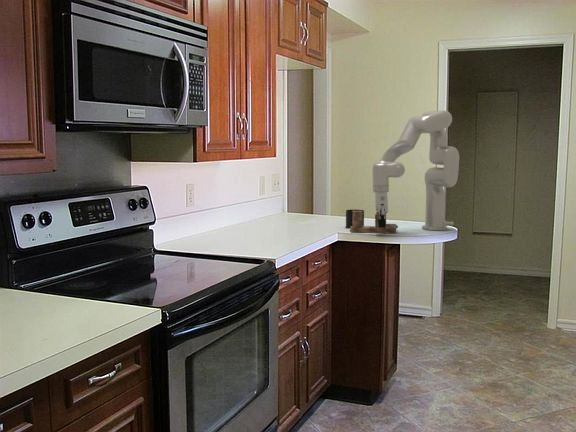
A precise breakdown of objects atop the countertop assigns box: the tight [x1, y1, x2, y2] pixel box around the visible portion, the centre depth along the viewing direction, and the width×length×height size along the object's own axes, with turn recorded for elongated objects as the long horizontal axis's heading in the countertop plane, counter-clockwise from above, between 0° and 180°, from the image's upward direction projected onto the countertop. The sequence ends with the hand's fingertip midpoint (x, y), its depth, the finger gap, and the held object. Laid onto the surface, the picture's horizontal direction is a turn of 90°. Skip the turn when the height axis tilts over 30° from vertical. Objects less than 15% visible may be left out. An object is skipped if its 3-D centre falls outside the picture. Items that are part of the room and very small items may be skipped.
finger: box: [374, 211, 387, 230], centre depth 301 cm, size 5×4×8 cm
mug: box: [345, 208, 365, 229], centre depth 325 cm, size 9×12×9 cm
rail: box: [349, 211, 399, 234], centre depth 310 cm, size 23×7×10 cm, turn 89°
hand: (381, 226), depth 302 cm, fingers closed on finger, 4 cm apart
